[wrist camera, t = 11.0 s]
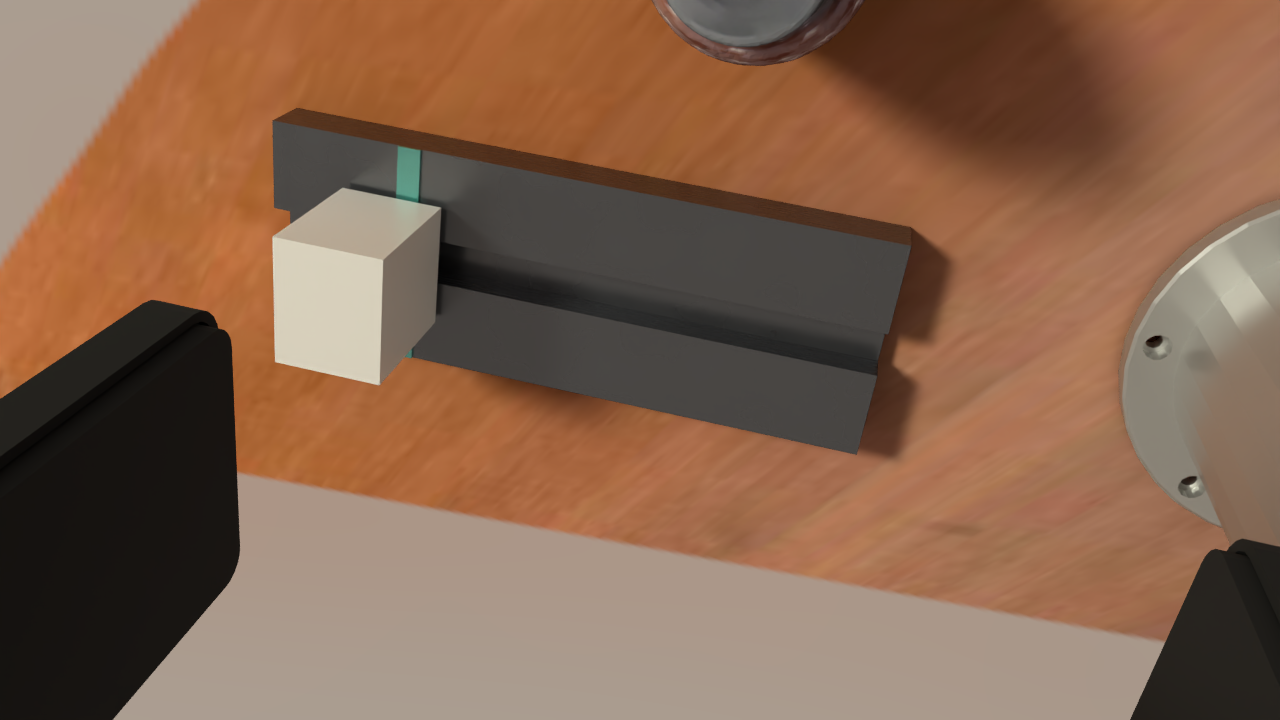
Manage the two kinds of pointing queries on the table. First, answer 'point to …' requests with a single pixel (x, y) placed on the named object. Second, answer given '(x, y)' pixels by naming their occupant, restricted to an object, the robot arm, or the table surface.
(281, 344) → the fader tab
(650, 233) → the fader housing
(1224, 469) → the robot arm
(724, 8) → the supplement bottle
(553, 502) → the table surface
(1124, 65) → the table surface
